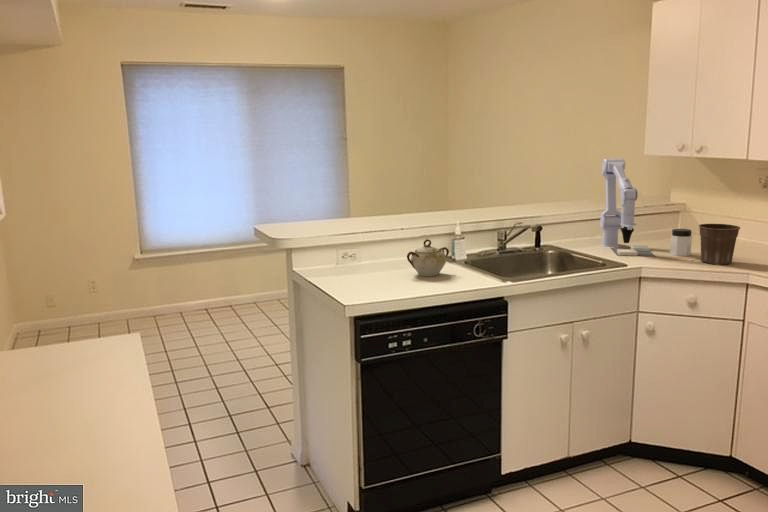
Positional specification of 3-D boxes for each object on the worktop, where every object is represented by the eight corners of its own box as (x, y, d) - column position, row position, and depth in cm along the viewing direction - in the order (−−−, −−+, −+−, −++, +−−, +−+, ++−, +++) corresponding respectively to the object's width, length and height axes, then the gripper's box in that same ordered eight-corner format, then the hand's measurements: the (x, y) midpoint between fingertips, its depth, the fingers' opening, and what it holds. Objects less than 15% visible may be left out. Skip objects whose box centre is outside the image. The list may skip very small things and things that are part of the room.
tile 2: (629, 248, 315) (630, 245, 315) (647, 248, 313) (647, 245, 313) (632, 251, 308) (632, 247, 308) (650, 251, 307) (650, 248, 306)
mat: (610, 248, 319) (610, 247, 318) (646, 249, 315) (646, 248, 315) (617, 257, 297) (617, 255, 297) (656, 257, 294) (656, 256, 294)
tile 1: (617, 249, 305) (619, 251, 298) (634, 249, 303) (637, 252, 296) (616, 252, 305) (619, 255, 298) (634, 253, 303) (637, 255, 297)
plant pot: (742, 266, 272) (745, 229, 269) (700, 265, 275) (703, 228, 272) (731, 259, 287) (734, 223, 284) (692, 258, 291) (694, 223, 288)
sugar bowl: (415, 280, 258) (415, 243, 255) (399, 273, 271) (398, 238, 268) (457, 275, 266) (457, 239, 263) (439, 268, 279) (439, 234, 276)
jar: (685, 257, 293) (687, 231, 291) (667, 255, 299) (669, 230, 296) (693, 254, 299) (694, 229, 297) (675, 252, 305) (676, 228, 302)
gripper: (639, 216, 293) (638, 245, 295) (633, 212, 307) (632, 240, 309) (623, 216, 294) (622, 245, 297) (618, 212, 308) (617, 240, 311)
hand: (626, 242), depth 303 cm, fingers closed
